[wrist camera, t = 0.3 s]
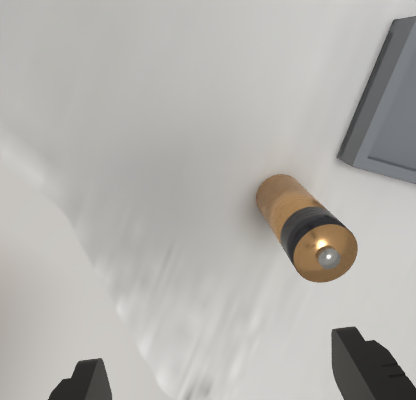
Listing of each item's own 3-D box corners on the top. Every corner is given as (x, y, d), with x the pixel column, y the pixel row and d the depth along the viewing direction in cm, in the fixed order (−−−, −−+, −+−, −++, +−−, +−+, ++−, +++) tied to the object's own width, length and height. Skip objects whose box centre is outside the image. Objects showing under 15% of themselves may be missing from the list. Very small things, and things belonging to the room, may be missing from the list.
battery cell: (265, 169, 33) (312, 222, 23) (308, 180, 34) (374, 237, 23) (249, 212, 35) (287, 282, 24) (291, 222, 36) (346, 293, 25)
